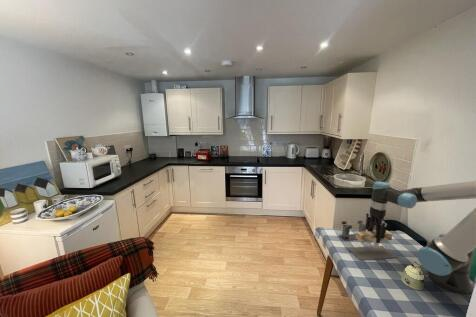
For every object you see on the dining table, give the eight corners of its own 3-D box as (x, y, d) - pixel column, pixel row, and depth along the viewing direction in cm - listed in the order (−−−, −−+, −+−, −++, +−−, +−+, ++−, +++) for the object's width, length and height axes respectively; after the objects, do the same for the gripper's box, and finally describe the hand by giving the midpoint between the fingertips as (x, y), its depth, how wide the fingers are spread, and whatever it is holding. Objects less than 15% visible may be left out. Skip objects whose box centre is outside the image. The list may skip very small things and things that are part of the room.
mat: (382, 246, 124) (382, 245, 124) (398, 258, 114) (398, 257, 114) (347, 248, 122) (347, 247, 122) (360, 260, 111) (360, 259, 111)
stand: (361, 234, 138) (363, 220, 136) (368, 239, 132) (370, 225, 130) (338, 235, 136) (340, 221, 135) (344, 241, 130) (346, 226, 128)
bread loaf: (385, 236, 119) (386, 230, 119) (391, 240, 116) (392, 234, 115) (355, 237, 117) (356, 231, 117) (360, 241, 113) (361, 235, 113)
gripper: (361, 202, 121) (356, 236, 125) (384, 214, 104) (378, 254, 108) (372, 202, 122) (367, 236, 126) (397, 214, 105) (390, 253, 109)
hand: (372, 244), depth 117 cm, fingers closed on bread loaf, 4 cm apart
